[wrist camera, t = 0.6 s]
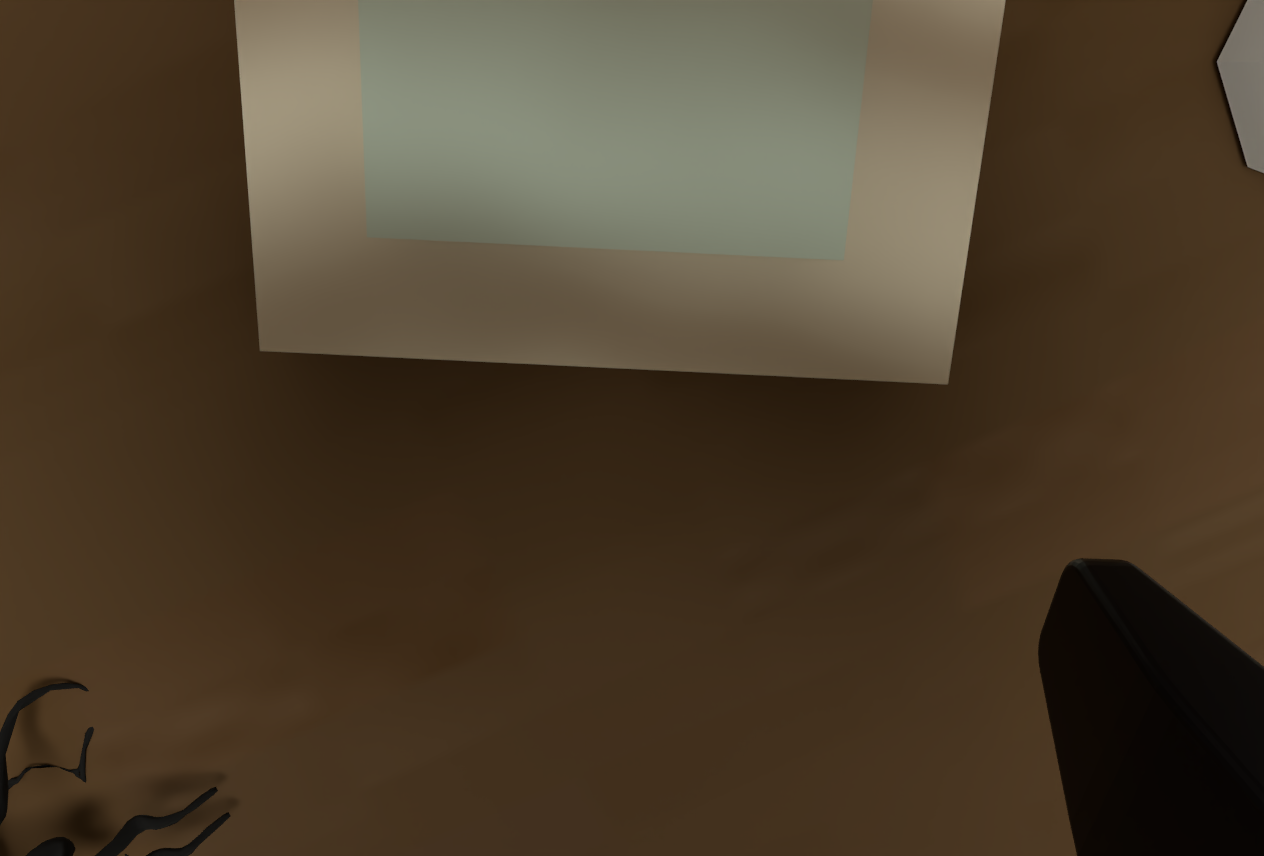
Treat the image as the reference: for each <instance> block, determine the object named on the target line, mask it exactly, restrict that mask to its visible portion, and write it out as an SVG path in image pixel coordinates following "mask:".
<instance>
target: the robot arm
mask: <svg viewBox="0 0 1264 856" xmlns="http://www.w3.org/2000/svg"><path fill="white" fill-rule="evenodd" d="M1038 658H1039V667H1040V673H1041V678H1042V683H1043V688H1044V693H1045V698H1046V703H1047V708H1048V713H1049V719H1050V724H1051V729H1052V734H1053V739H1054V744H1055V749H1056V754H1057V759H1058V764H1059V770H1060V775H1061V780H1062V785H1063V790H1064V795H1065V800H1066V805H1067V810H1068V815H1069V820H1070V825H1071V830H1072V834H1073V839H1074V843H1075V848H1076V852H1077V856H1264V667H1263V666H1262V665H1261V664H1260V663H1258V662H1257V661H1256V660H1255V659H1253V658H1252V657H1251V656H1249V655H1248V654H1247V653H1246V652H1244V651H1243V650H1242V649H1241V648H1239V647H1238V646H1237V645H1236V644H1234V643H1233V642H1232V641H1231V640H1229V639H1228V638H1227V637H1225V636H1224V635H1223V634H1222V633H1220V632H1219V631H1218V630H1217V629H1215V628H1214V627H1213V626H1212V625H1210V624H1209V623H1208V622H1207V621H1205V620H1204V619H1203V618H1201V617H1200V616H1199V615H1198V614H1196V613H1195V612H1194V611H1193V610H1191V609H1190V608H1189V607H1188V606H1186V605H1185V604H1184V603H1182V602H1181V601H1180V600H1179V599H1177V598H1176V597H1175V596H1174V595H1172V594H1171V593H1170V592H1169V591H1167V590H1166V589H1165V588H1164V587H1162V586H1161V585H1160V584H1158V583H1157V582H1156V581H1155V580H1153V579H1152V578H1151V577H1150V576H1148V575H1147V574H1146V573H1145V572H1143V571H1142V570H1141V569H1140V568H1138V567H1137V566H1135V565H1134V564H1132V563H1130V562H1128V561H1123V560H1114V559H1083V558H1081V559H1076V560H1073V561H1071V562H1070V563H1069V564H1068V565H1067V566H1066V567H1065V569H1064V571H1063V573H1062V575H1061V578H1060V580H1059V583H1058V586H1057V589H1056V592H1055V594H1054V597H1053V600H1052V603H1051V606H1050V609H1049V611H1048V614H1047V617H1046V620H1045V623H1044V625H1043V628H1042V631H1041V635H1040V639H1039V647H1038Z"/></svg>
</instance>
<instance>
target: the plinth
mask: <svg viewBox="0 0 1264 856" xmlns="http://www.w3.org/2000/svg"><path fill="white" fill-rule="evenodd" d="M1005 1H1006V0H234V4H235V18H236V31H237V45H238V59H239V72H240V86H241V100H242V113H243V127H244V141H245V154H246V168H247V182H248V195H249V209H250V223H251V236H252V250H253V264H254V277H255V291H256V305H257V318H258V332H259V346H260V351H271V352H292V353H313V354H333V355H354V356H374V357H395V358H416V359H436V360H457V361H477V362H498V363H519V364H539V365H560V366H580V367H601V368H622V369H642V370H663V371H683V372H704V373H724V374H745V375H766V376H786V377H807V378H827V379H848V380H869V381H889V382H910V383H930V384H948V380H949V373H950V367H951V360H952V353H953V347H954V340H955V333H956V327H957V320H958V313H959V307H960V300H961V293H962V287H963V280H964V273H965V267H966V260H967V254H968V247H969V240H970V234H971V227H972V220H973V214H974V207H975V200H976V194H977V187H978V180H979V174H980V167H981V160H982V154H983V147H984V140H985V134H986V127H987V120H988V114H989V107H990V100H991V94H992V87H993V81H994V74H995V67H996V61H997V54H998V47H999V41H1000V34H1001V27H1002V21H1003V14H1004V7H1005Z"/></svg>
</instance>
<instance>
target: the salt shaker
mask: <svg viewBox="0 0 1264 856" xmlns="http://www.w3.org/2000/svg"><path fill="white" fill-rule="evenodd" d="M1217 65H1218V68H1219V71H1220V75H1221V78H1222V82H1223V85H1224V88H1225V92H1226V95H1227V99H1228V102H1229V105H1230V109H1231V112H1232V116H1233V119H1234V122H1235V126H1236V129H1237V133H1238V136H1239V139H1240V143H1241V146H1242V150H1243V153H1244V156H1245V160H1246V163H1247V167H1249V168H1252V169H1254V170H1257V171H1260V172H1262V173H1264V0H1247V2H1246V4H1245V6H1244V8H1243V10H1242V12H1241V14H1240V16H1239V18H1238V20H1237V22H1236V24H1235V26H1234V28H1233V30H1232V32H1231V34H1230V36H1229V38H1228V40H1227V42H1226V44H1225V46H1224V48H1223V50H1222V52H1221V54H1220V56H1219V58H1218V60H1217Z"/></svg>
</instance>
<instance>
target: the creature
mask: <svg viewBox="0 0 1264 856" xmlns="http://www.w3.org/2000/svg"><path fill="white" fill-rule="evenodd" d="M72 688H80V689H82V690H84V691H88V689H87V688H86V687H85V686H83V685H80V684H71V683H60V684H52V685H48V686H46V687H43V688H40V689H37V690H34V691H32V692H31V693H29V694H28V695H26V696H25V697H23V698H22V699H20V700H19V701H17V703H16V704H15V705H14V707H13V708H12V710H11V711H10V712H9V714H8V715H7V718H6V720H5V722H4V725H3V727H2V729H1V731H0V825H1V823H2V821H3V820H4V818H5V817H6V813H7V805H8V790H9V789H10V788H11V787H12V786H13V785H15V784H17V783H18V782H19V781H20V779H21V778H22V776H23V775H24V773H26V772H27V771H29V770H30V769H31V768H45V767H57V766H50V765H41V766H35V767H28V768H26V769H25V770H23V772H22V773H21V774H20V775H19V777H16V778H11V779H10V780H8V776H7V766H6V757H5V754H6V751H7V748H8V745H9V741H10V738H11V735H12V732H13V729H14V725H15V722H16V719H17V716H18V712H19V711H20V710H21V709H23V708H24V707H26V706H27V705H29V704H30V703H32V702H33V701H35V700H36V699H38V698H39V697H41V696H43V695H44V694H46V693H47V692H49V691H50V690H60V689H72ZM93 731H94V729H93V727H90V728H89V729H88V730H87V732H86V733H85V738H84V743H83V748H82V753H81V759H80V764H79V767H78V769H74V770H68V769H64V768H61V767H59V768H61V769H63V770H65V771H68V772H72V773H74V774H75V775H76V777H78V778H80V779H81V780H83V781H84V782H85V783H86V776H85V751H86V748H87V746H88V744H89V741H90V739H91V737H92V734H93ZM79 773H80V774H81V775H80V776H79ZM217 791H218V790H217V788H216V787H214V788H211V789H210V790H208V791H207V792H205V793H204V794H202V795H201V796H200V797H198V798H197V799H196V800H195V801H193V802H192V803H191V804H190V805H189V806H188V807H186V808H185V809H184V810H182V811H180V812H177V813H174V814H172V815H168V816H164V817H153V816H148V815H138V816H134V817H133V818H132V819H130V820H129V821H127V822H126V824H125V825H124V826H123V828H122V829H121V830H120V831H119V833H118V834H117V835H116V836H115V838H114V839H113V840H112V841H111V842H110V843H109V844H108V845H107V846H105V847H104V848H103V849H102V850H101V851H100V852H99V853H97V854H96V855H95V856H117V855H118V854H119V853H120V852H122V851H123V850H124V849H125V848H126V847H127V846H128V845H129V843H130V842H131V841H132V840H133V839H134V838H135V837H136V836H137V835H138V834H139V833H141V832H143V831H144V830H149V829H153V830H157V829H162V828H164V827H167V826H170V825H172V824H175V823H177V822H178V821H179V820H181V819H182V818H183V817H184V816H185V815H187V814H188V813H190V812H192V811H193V810H195V809H196V808H197V807H199V806H200V805H201V804H203V803H204V802H205V801H206V800H208V799H209V798H210V797H211V796H213V795H214V794H215V793H216V792H217ZM229 817H230V814H229V812H228V813H226V814H224V815H222V816H221V817H220V818H218V819H217V820H216V821H214V822H213V823H212V824H211V825H209V826H208V827H207V828H206V829H205V830H204V831H203V832H202V833H201V834H200V835H199V836H198V837H196V838H195V839H194V840H193V841H192V842H191V843H189V844H188V845H186V846H184V847H182V848H162V849H158V850H155V851H152V852H151V853H149V854H148V855H146V856H188V855H190V854H192V853H193V851H194V850H195V849H196V848H197V847H198V846H199V845H200V844H201V843H202V842H203V841H204V840H205V839H206V838H207V837H208V836H210V835H211V834H212V833H213V832H214V831H215V830H216V829H217V828H218V827H220V826H221V825H222V824H223V823H224V822H225V821H226V820H227V819H228V818H229ZM74 851H75V847H74V844H73V843H72V842H71V841H70V840H69V839H67V838H65V837H56V838H53V839H50V840H47V841H45V842H43V843H41V844H40V845H38V846H37V847H36V848H34V849H33V850H31V851H30V852H29V853H28V854H27V855H26V856H73V853H74ZM125 856H128V855H127V854H125Z"/></svg>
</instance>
